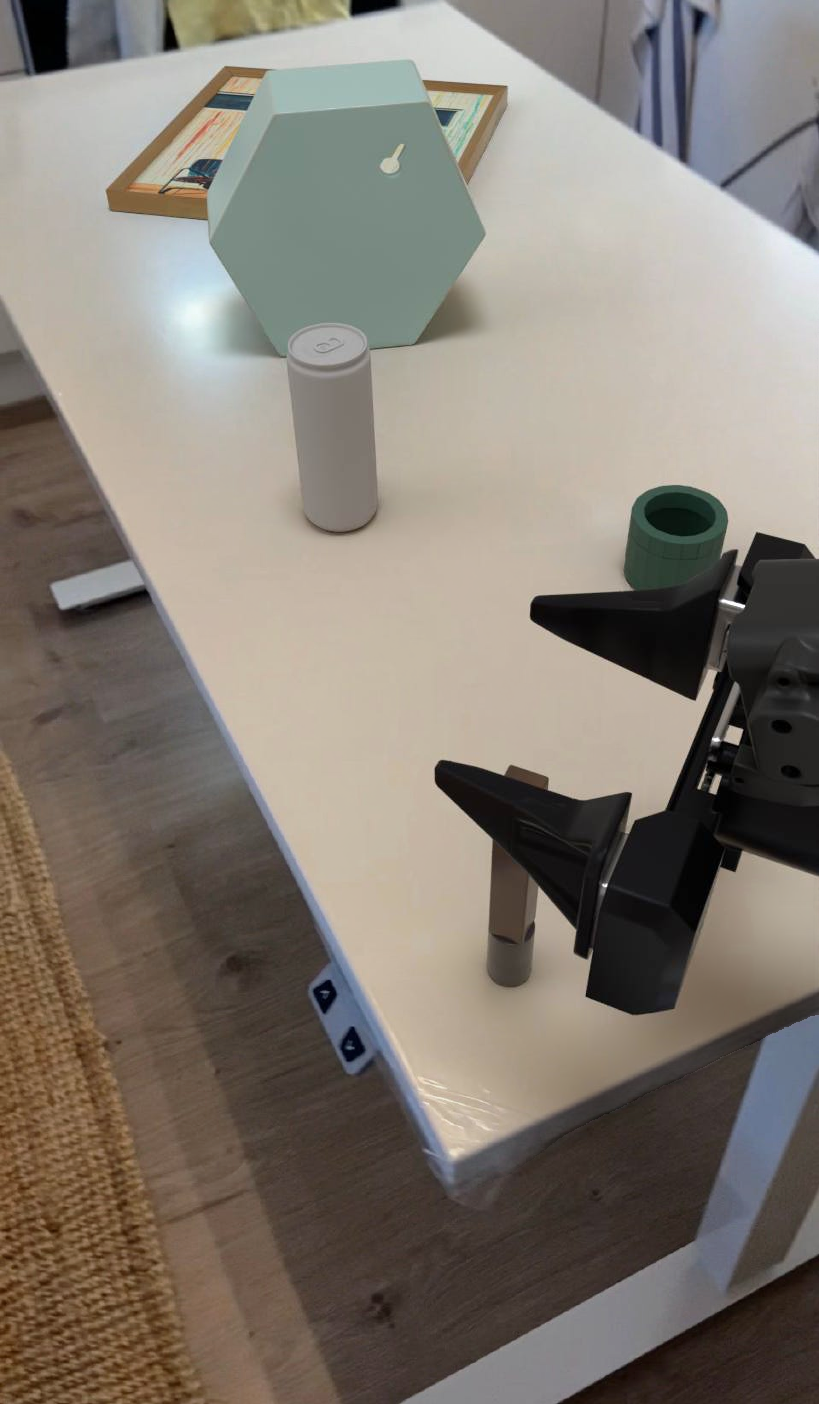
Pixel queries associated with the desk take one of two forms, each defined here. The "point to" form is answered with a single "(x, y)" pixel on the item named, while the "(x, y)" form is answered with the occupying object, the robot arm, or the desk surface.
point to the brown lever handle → (512, 907)
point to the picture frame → (205, 128)
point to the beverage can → (334, 424)
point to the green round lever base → (673, 536)
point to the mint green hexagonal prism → (342, 204)
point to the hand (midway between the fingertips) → (486, 684)
